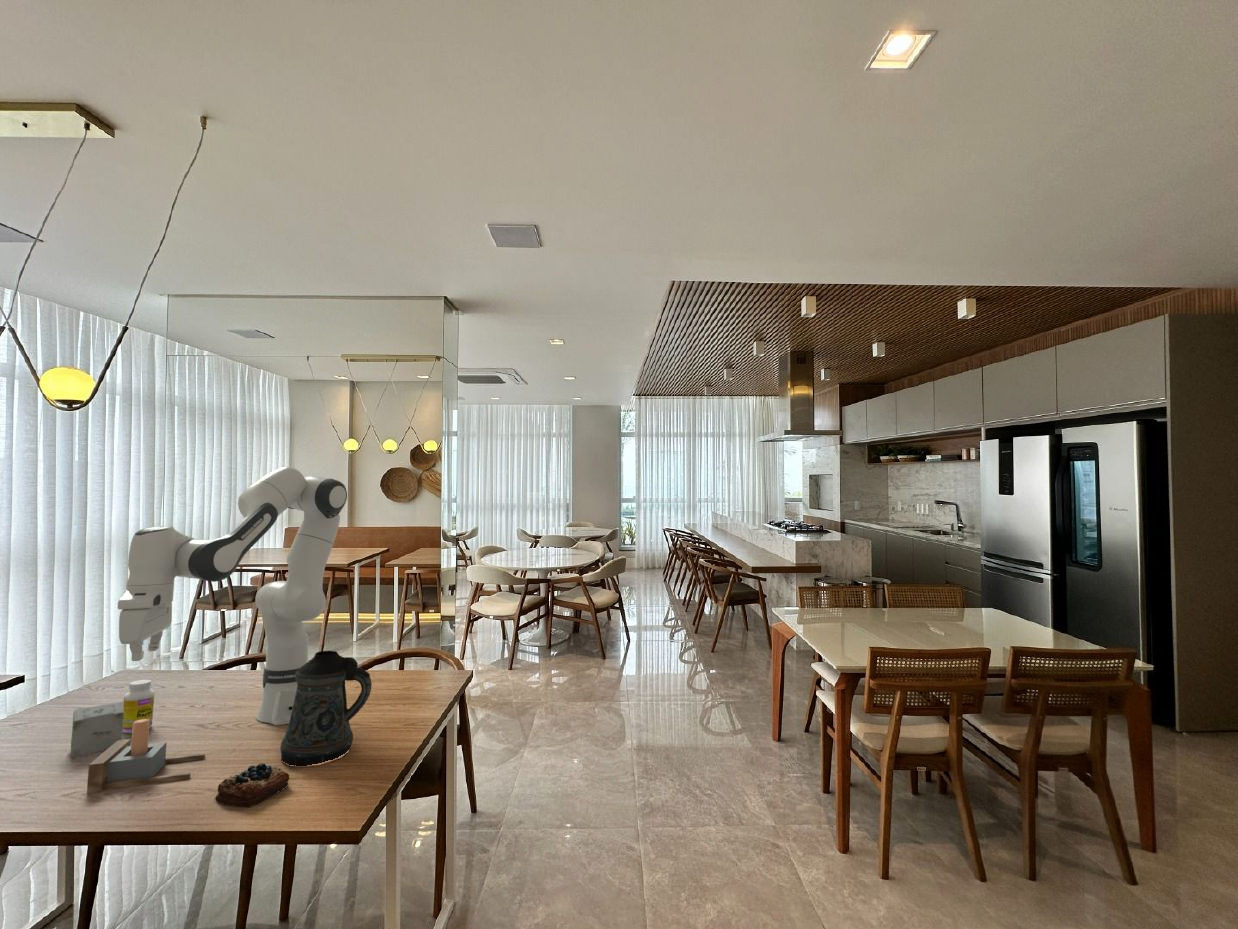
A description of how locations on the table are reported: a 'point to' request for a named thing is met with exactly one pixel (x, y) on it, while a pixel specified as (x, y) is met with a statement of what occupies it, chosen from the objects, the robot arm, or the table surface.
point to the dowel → (140, 737)
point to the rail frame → (99, 779)
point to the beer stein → (323, 710)
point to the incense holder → (96, 728)
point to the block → (136, 763)
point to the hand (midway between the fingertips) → (145, 655)
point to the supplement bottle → (138, 704)
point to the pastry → (252, 786)
